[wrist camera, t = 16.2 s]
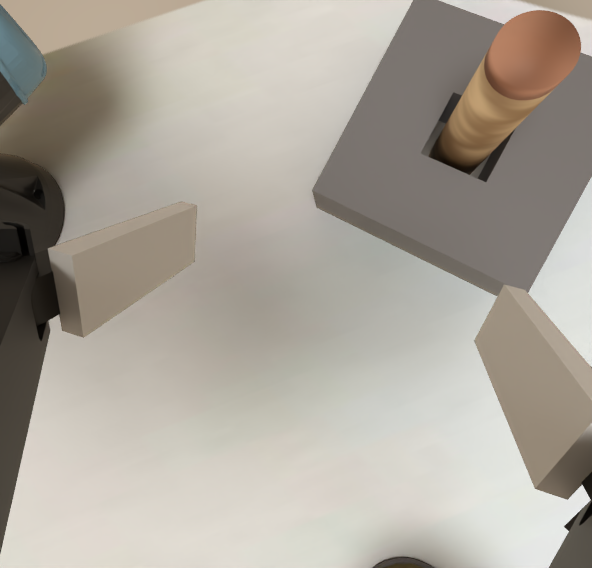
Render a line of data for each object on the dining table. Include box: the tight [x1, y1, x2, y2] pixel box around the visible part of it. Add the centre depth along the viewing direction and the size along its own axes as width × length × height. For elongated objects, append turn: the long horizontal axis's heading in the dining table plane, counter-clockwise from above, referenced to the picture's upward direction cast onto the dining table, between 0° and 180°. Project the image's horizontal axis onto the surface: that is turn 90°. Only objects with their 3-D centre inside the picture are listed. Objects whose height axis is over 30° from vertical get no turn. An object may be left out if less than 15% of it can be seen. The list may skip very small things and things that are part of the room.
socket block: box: [312, 0, 592, 296], centre depth 34 cm, size 22×22×6 cm
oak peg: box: [429, 10, 581, 175], centre depth 28 cm, size 5×5×16 cm
